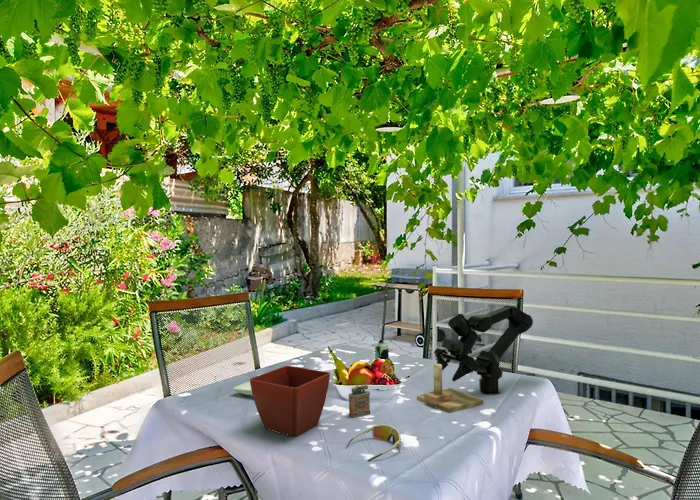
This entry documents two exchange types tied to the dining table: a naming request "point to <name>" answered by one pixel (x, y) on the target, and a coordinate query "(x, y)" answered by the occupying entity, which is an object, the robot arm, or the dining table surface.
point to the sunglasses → (382, 436)
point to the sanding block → (438, 389)
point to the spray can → (381, 350)
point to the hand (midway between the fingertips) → (444, 377)
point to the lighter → (359, 401)
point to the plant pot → (290, 398)
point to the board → (455, 401)
